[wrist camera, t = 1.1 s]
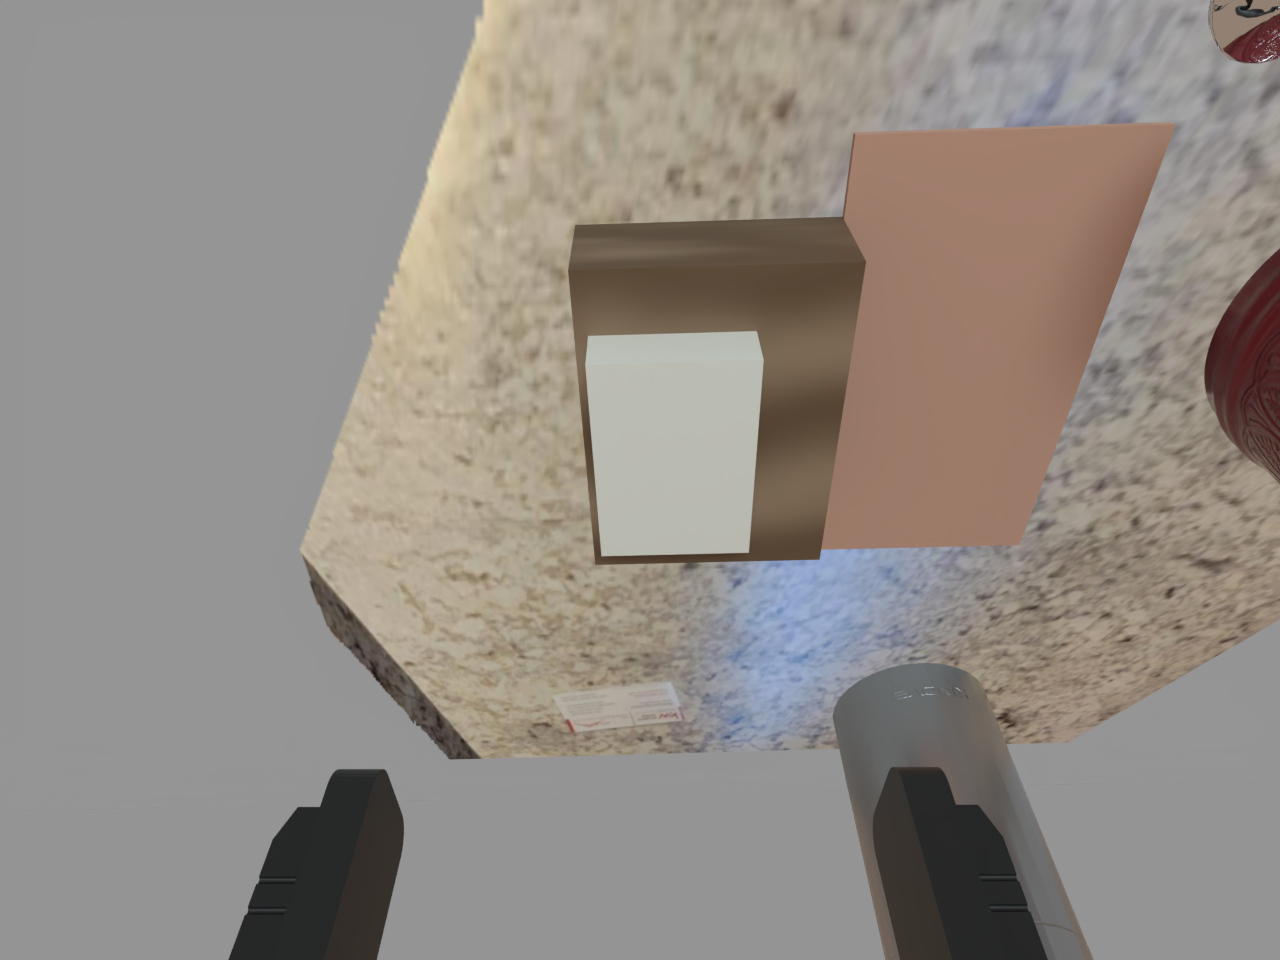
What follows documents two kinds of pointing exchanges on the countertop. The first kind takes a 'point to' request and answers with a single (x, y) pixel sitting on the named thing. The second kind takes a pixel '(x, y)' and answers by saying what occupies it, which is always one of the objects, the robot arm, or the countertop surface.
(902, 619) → the countertop surface
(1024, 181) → the mat
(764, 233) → the block
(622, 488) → the pale grey rectangular block
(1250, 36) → the wineglass
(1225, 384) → the canister
